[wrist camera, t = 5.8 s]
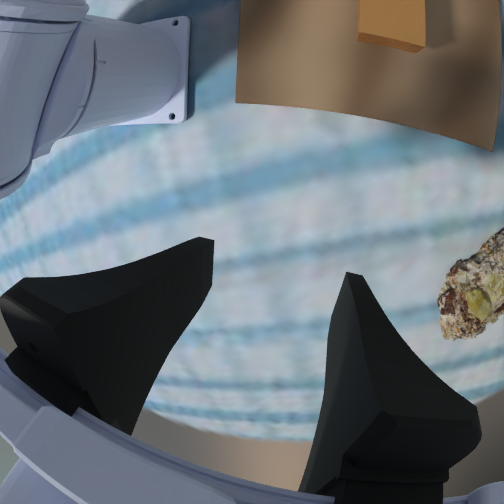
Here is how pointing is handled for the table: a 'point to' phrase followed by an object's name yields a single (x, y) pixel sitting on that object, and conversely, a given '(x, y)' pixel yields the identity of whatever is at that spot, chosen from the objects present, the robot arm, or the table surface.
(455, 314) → the mineral rock
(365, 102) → the base
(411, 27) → the press lever
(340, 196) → the table surface
